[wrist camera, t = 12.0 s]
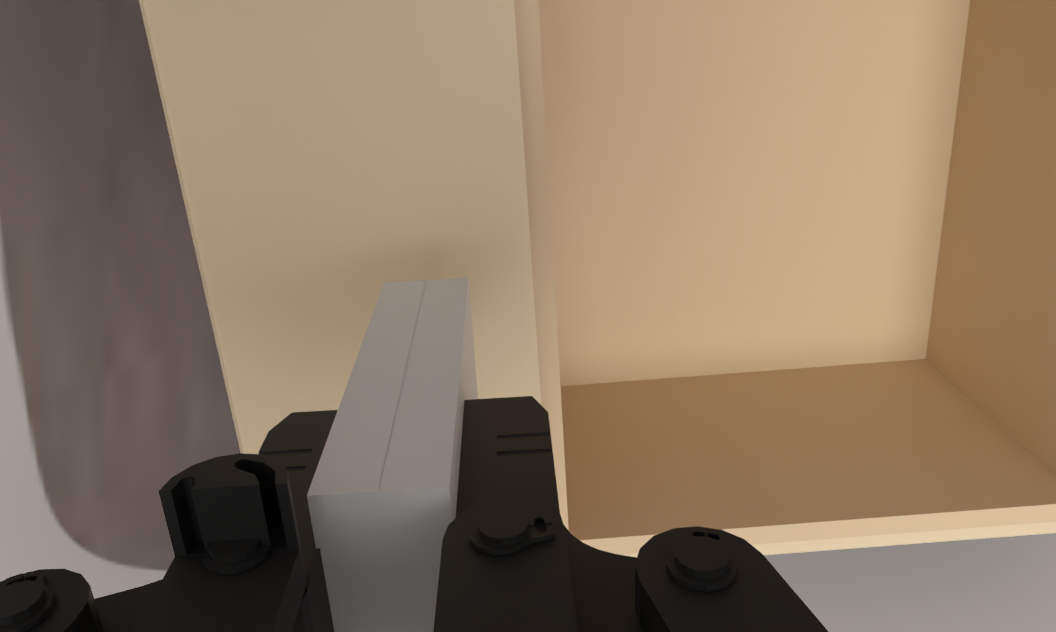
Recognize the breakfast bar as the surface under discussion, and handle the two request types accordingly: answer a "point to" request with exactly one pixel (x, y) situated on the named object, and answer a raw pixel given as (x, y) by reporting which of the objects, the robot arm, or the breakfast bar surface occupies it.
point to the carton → (794, 266)
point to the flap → (346, 182)
